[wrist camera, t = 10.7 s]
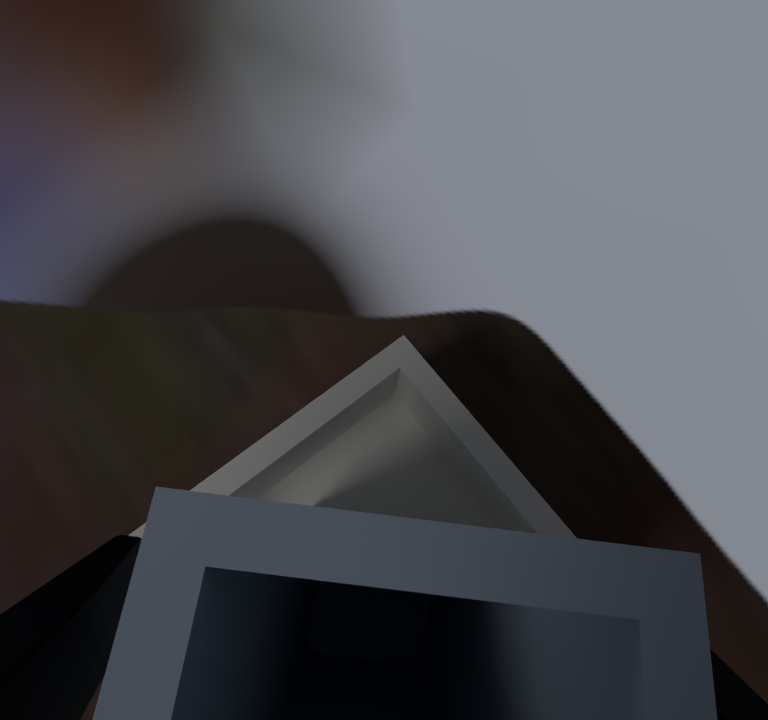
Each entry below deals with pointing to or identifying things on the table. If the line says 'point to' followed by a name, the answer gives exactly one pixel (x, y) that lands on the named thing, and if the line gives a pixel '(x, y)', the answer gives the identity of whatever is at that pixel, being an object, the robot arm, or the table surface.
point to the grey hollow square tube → (398, 621)
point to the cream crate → (389, 455)
